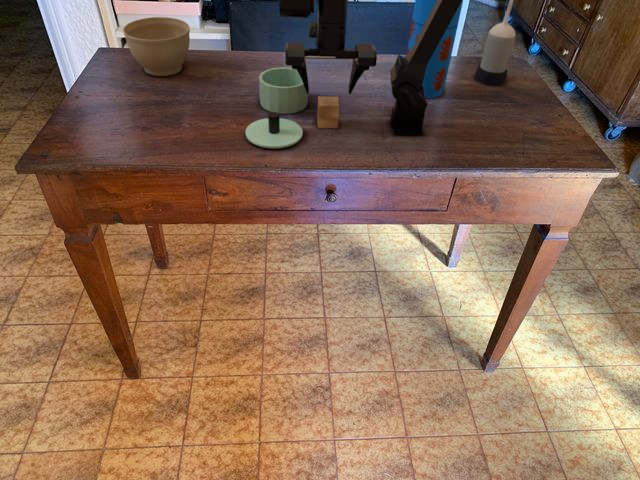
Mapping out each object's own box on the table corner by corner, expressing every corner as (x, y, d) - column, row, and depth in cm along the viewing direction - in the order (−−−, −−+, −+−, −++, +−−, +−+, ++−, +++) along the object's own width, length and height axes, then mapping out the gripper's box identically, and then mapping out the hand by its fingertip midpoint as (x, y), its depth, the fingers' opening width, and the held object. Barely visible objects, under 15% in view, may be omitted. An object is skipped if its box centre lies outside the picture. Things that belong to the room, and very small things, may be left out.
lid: (302, 122, 115) (302, 101, 111) (303, 151, 105) (303, 129, 102) (247, 121, 114) (246, 100, 111) (243, 150, 105) (242, 128, 101)
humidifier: (502, 74, 140) (530, -24, 123) (507, 86, 134) (538, -15, 117) (472, 71, 140) (497, -27, 124) (476, 84, 134) (502, -18, 118)
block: (336, 118, 117) (337, 96, 113) (337, 128, 113) (339, 105, 110) (317, 118, 116) (317, 96, 113) (317, 128, 113) (318, 105, 109)
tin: (306, 92, 126) (307, 67, 122) (308, 114, 118) (308, 88, 114) (261, 91, 126) (260, 66, 121) (259, 113, 117) (258, 87, 113)
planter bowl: (120, 77, 129) (110, 34, 121) (150, 54, 140) (143, 13, 133) (178, 86, 126) (171, 42, 119) (204, 62, 138) (199, 21, 131)
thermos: (442, 82, 134) (463, -20, 118) (445, 99, 126) (469, -7, 110) (401, 78, 135) (417, -24, 118) (402, 96, 127) (419, -11, 110)
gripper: (373, 7, 106) (366, 78, 116) (285, 5, 105) (286, 77, 115) (380, 25, 98) (372, 100, 108) (284, 23, 97) (285, 99, 107)
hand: (328, 93), depth 110 cm, fingers open, 9 cm apart
